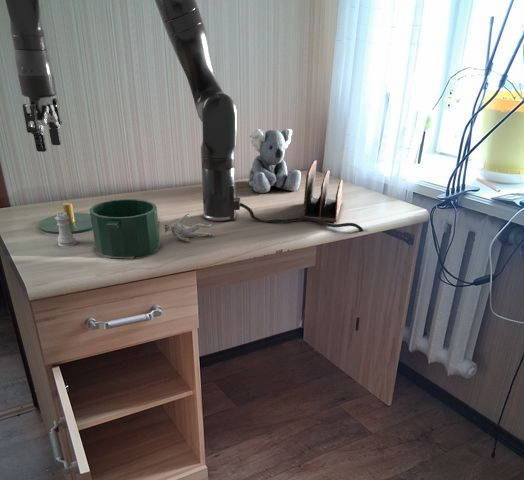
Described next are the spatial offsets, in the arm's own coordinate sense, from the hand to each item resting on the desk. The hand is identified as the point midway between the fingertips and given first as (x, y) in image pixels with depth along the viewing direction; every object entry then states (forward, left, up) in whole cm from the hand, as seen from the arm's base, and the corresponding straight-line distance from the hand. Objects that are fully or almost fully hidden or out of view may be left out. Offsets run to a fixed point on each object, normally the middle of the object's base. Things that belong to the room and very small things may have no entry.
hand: (49, 148), depth 124 cm
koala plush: (-53, -54, -22) cm, 79 cm away
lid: (+1, -6, -21) cm, 22 cm away
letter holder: (-70, -26, -22) cm, 78 cm away
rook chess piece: (-3, +8, -22) cm, 24 cm away
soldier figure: (-33, 0, -22) cm, 40 cm away
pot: (-19, +9, -22) cm, 30 cm away
